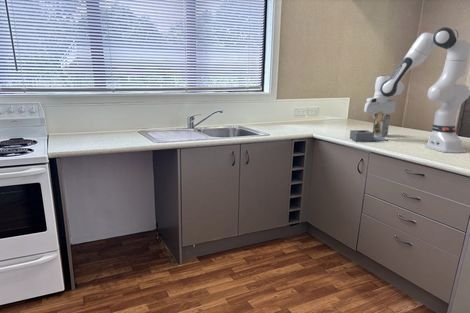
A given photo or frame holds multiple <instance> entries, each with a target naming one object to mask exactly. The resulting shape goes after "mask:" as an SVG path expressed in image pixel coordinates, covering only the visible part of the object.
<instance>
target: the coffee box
mask: <svg viewBox="0 0 470 313" xmlns="http://www.w3.org/2000/svg"><path fill="white" fill-rule="evenodd" d="M383 115H384V114H383ZM383 115H382V116H383ZM375 117H376V113H375ZM390 119H391V114H386V116H385V117H384V120H381V124H380V128H379V129H377V128H374V123H375V120H373V127H372V132H373V133H374V137H382V138H387V137H388V136H389V128H390Z"/></svg>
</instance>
